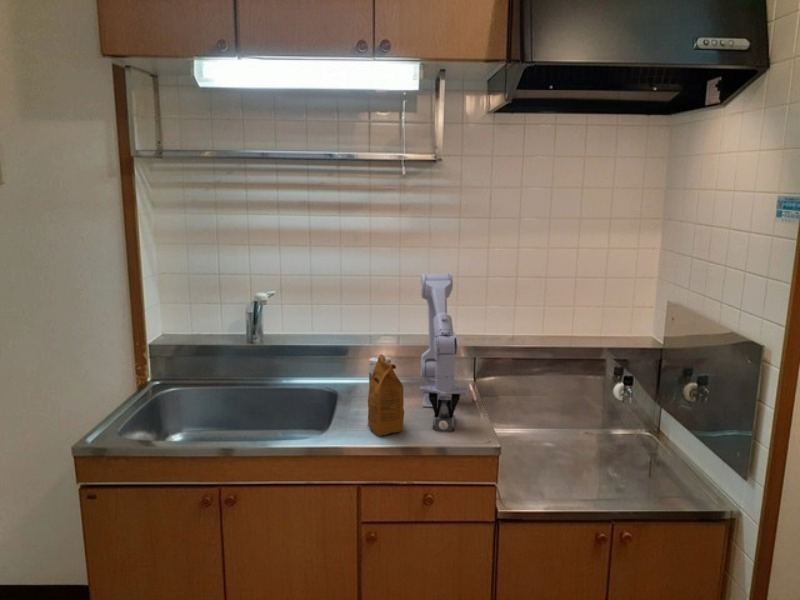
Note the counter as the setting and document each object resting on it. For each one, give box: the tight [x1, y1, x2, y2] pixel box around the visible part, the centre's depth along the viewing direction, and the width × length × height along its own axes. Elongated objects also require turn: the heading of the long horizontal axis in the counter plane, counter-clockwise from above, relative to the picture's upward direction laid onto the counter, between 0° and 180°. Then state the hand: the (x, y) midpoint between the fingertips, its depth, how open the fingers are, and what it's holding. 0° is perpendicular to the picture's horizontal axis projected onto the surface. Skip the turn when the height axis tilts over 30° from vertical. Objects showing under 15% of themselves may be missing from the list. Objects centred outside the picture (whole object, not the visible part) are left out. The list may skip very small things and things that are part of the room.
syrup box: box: [368, 355, 392, 388], centre depth 201 cm, size 6×6×14 cm
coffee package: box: [367, 354, 405, 437], centre depth 176 cm, size 10×12×22 cm
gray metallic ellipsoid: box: [438, 395, 452, 400], centre depth 183 cm, size 4×4×6 cm
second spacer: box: [437, 399, 451, 419], centre depth 179 cm, size 4×4×6 cm
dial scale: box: [432, 412, 456, 433], centre depth 181 cm, size 11×7×4 cm, turn 173°
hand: (443, 416), depth 179 cm, fingers closed on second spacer, 4 cm apart
